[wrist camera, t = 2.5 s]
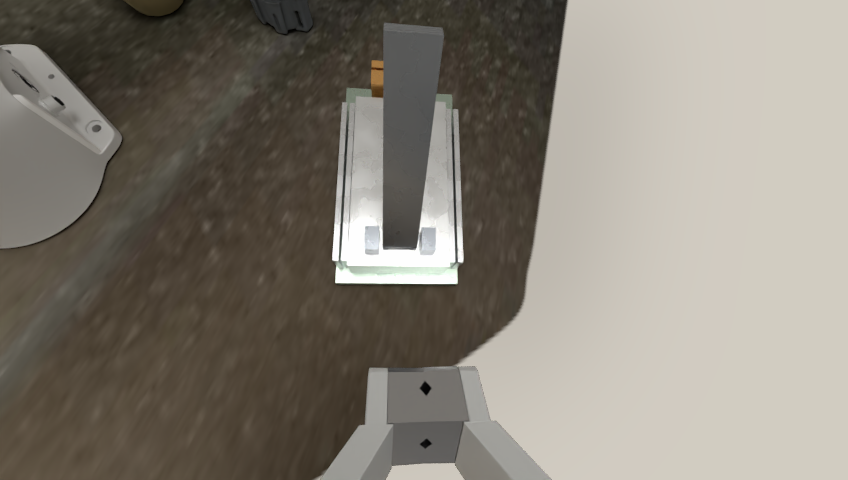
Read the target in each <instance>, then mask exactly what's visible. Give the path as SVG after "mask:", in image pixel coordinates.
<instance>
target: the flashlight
mask: <svg viewBox="0 0 848 480" xmlns="http://www.w3.org/2000/svg"><path fill="white" fill-rule="evenodd" d="M250 2H251V4H252V6H253V8H254V10H255V12H256V14H257V17H258V18H259V20H261V21H262V23H263V24H267V23H269V24H270V25H272V26H274V27H275V29H276V31H277V32H279V33H283V34H287V33H288V30H290V29H294V28H295V29H296V30H301V31H306V32H307V31H309V29H310V28H311V27H312V25H313V22H312V18H311V14H310V10H309V6H308V2H307V0H250Z"/></svg>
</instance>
